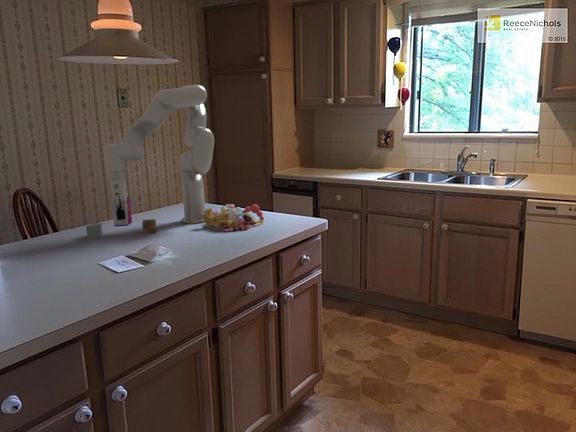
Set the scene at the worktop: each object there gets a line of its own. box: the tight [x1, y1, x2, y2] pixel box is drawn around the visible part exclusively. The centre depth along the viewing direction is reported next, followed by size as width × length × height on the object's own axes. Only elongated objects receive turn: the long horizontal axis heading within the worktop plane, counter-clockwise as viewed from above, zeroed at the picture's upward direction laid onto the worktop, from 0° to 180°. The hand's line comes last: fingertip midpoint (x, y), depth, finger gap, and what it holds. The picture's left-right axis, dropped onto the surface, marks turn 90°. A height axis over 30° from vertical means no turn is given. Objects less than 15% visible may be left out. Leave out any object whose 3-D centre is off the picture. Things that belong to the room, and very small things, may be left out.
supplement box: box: [110, 196, 133, 227], centre depth 201 cm, size 6×6×12 cm
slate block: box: [85, 222, 103, 239], centre depth 200 cm, size 5×5×5 cm
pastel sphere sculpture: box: [202, 203, 265, 232], centre depth 212 cm, size 25×24×9 cm
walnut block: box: [141, 218, 157, 235], centre depth 204 cm, size 5×5×5 cm
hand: (122, 217), depth 202 cm, fingers closed on supplement box, 6 cm apart
